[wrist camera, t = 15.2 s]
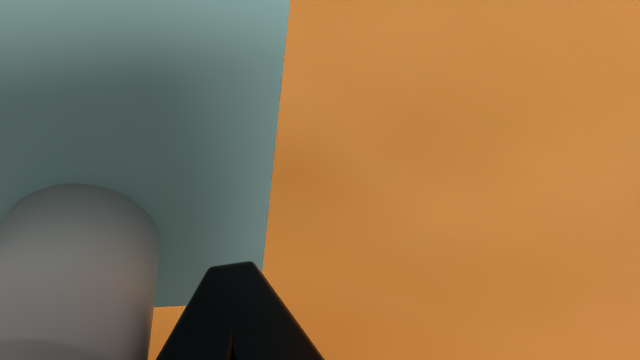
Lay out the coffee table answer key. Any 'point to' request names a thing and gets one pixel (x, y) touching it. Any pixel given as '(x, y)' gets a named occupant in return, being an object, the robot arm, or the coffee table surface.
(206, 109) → the cover
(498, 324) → the coffee table surface
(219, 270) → the robot arm
